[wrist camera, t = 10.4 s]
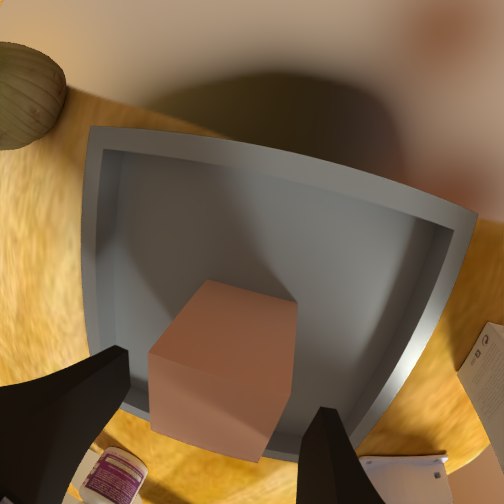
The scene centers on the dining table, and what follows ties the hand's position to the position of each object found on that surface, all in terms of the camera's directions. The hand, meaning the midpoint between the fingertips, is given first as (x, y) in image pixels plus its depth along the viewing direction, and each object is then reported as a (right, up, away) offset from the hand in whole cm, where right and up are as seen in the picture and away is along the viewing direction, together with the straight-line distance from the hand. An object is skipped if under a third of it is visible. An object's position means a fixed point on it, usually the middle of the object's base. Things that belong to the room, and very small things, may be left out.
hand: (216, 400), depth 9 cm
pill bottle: (-12, -17, +14) cm, 25 cm away
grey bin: (+1, +2, +6) cm, 6 cm away
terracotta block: (+1, +1, +5) cm, 5 cm away
